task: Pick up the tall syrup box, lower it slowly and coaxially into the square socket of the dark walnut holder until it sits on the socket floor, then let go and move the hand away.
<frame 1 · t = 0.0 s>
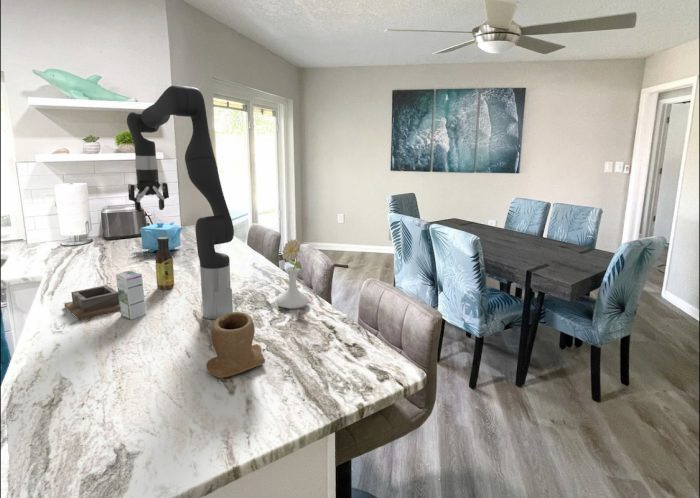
hand: (150, 210, 167), 29 cm above the worktop, tool pointing down, fingers open, 8 cm apart
stone cup: (239, 369, 111), on the worktop
socket holder: (96, 307, 147), on the worktop
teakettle: (164, 251, 222), on the worktop
sauce bottle: (166, 288, 169), on the worktop
syrup box: (133, 316, 142), on the worktop
flower in vase: (293, 306, 154), on the worktop
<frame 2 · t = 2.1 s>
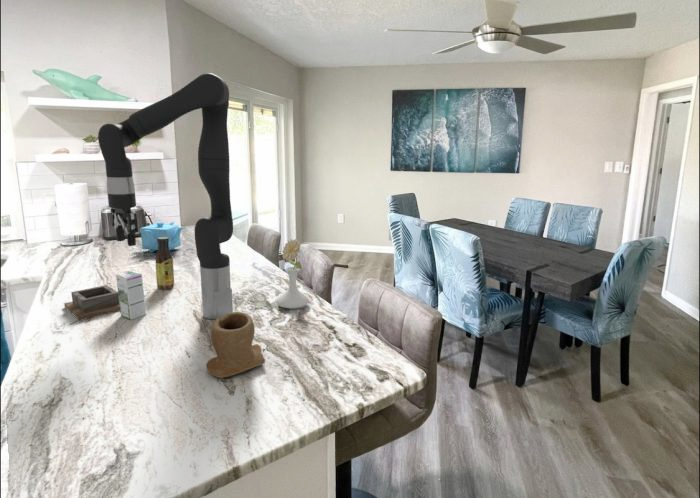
hand: (126, 243, 136), 24 cm above the worktop, tool pointing down, fingers open, 8 cm apart
nothing on the worktop moved.
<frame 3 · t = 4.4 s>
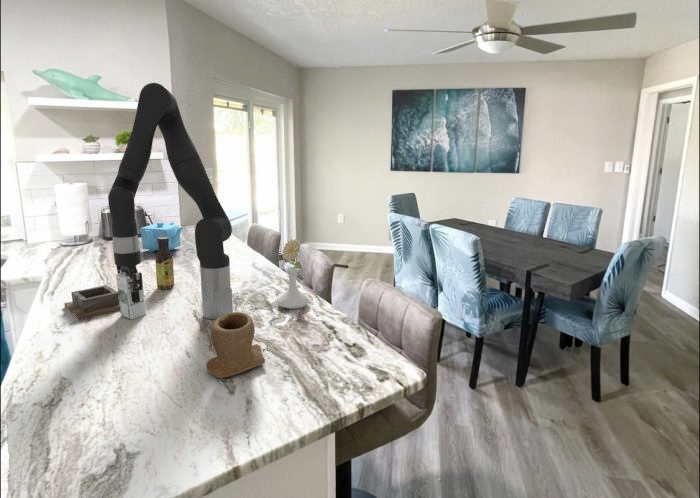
hand: (131, 299, 141), 6 cm above the worktop, tool pointing down, fingers closed on syrup box, 6 cm apart
syrup box: (133, 315, 142), on the worktop, touching gripper
everything else where it was.
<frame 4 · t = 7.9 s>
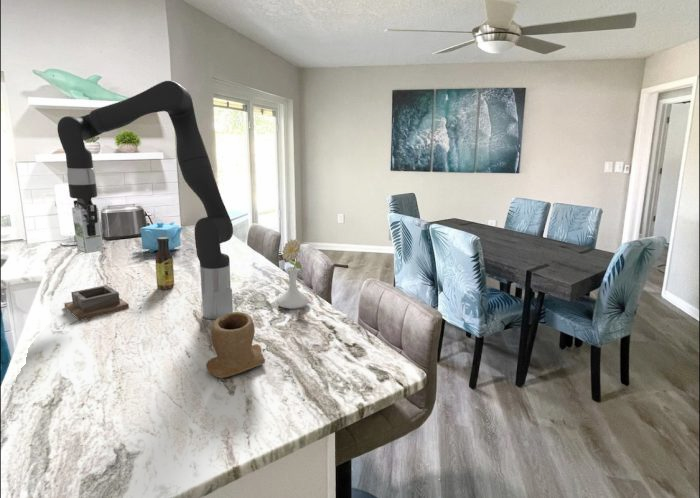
hand: (88, 233, 141), 26 cm above the worktop, tool pointing down, fingers closed on syrup box, 6 cm apart
syrup box: (90, 251, 143), point 20 cm above the worktop, touching gripper
everything else where it was.
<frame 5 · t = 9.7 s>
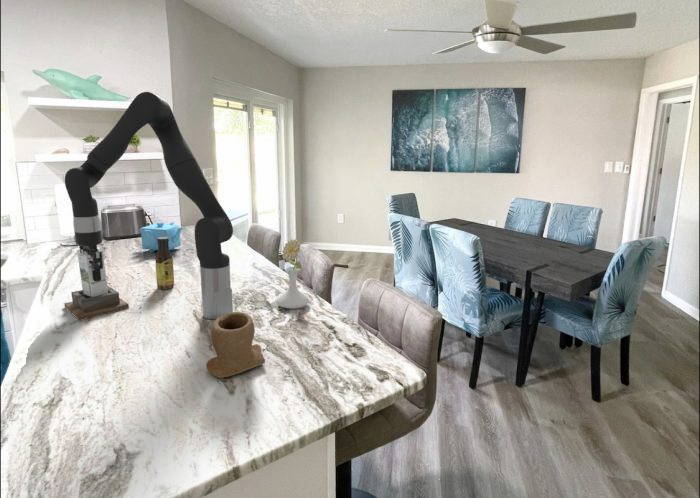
hand: (93, 278, 145), 11 cm above the worktop, tool pointing down, fingers closed on syrup box, 6 cm apart
syrup box: (95, 294, 146), point 5 cm above the worktop, touching gripper
everything else where it was.
when the fingers open (8 cm above the worktop, at t = 11.2 s): syrup box drops 1 cm, resting on socket holder.
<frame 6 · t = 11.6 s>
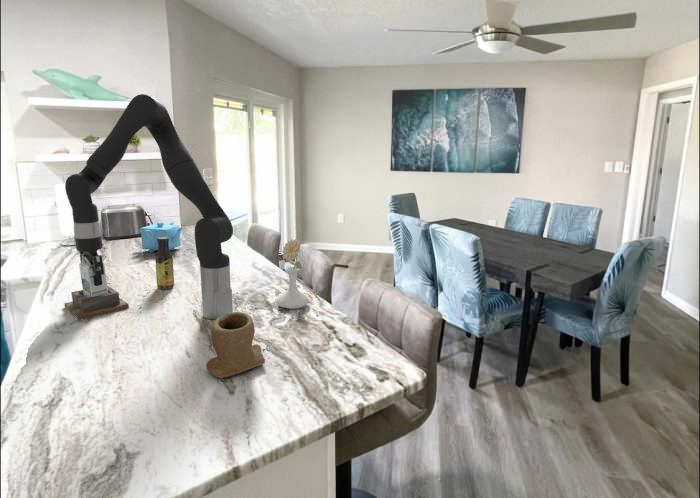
hand: (93, 282, 145), 9 cm above the worktop, tool pointing down, fingers open, 8 cm apart
syrup box: (97, 304, 147), point 1 cm above the worktop, touching socket holder
everything else where it was.
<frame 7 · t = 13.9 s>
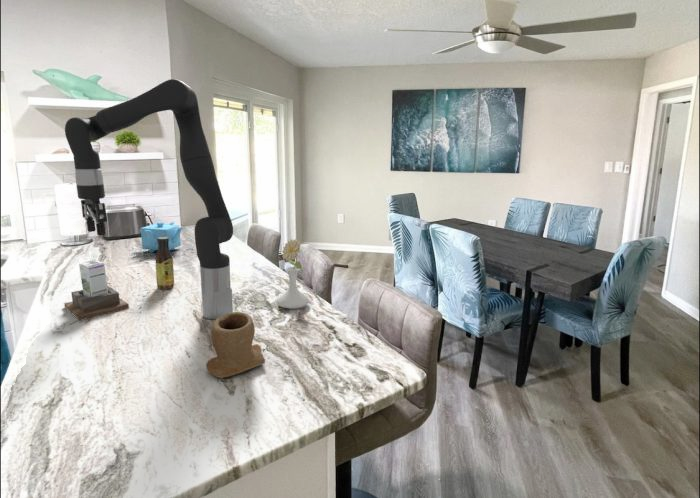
hand: (96, 233, 141), 26 cm above the worktop, tool pointing down, fingers open, 8 cm apart
nothing on the worktop moved.
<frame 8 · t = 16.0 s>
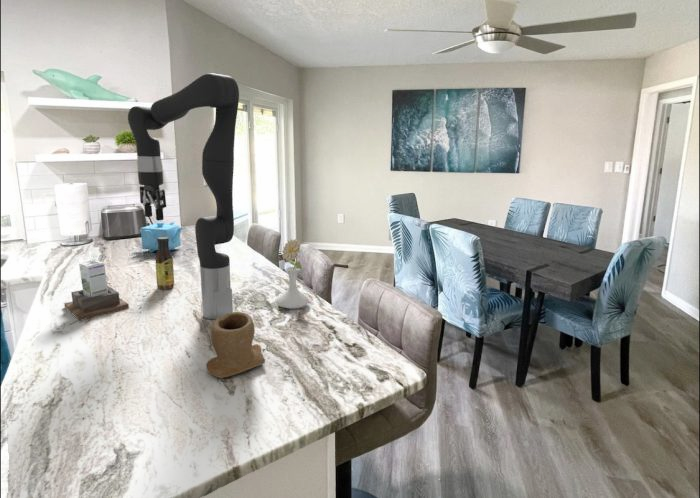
hand: (154, 218, 147), 30 cm above the worktop, tool pointing down, fingers open, 8 cm apart
nothing on the worktop moved.
at the end: syrup box 0.3 cm off-centre on the socket holder, point 1.3 cm above the socket holder's base; syrup box tilted 0°; the gripper is holding nothing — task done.
